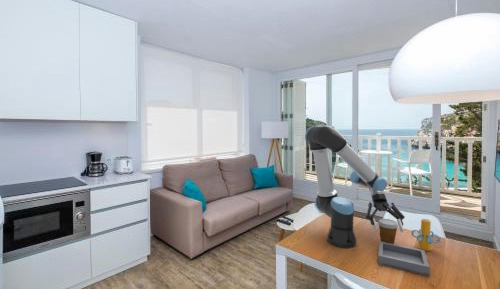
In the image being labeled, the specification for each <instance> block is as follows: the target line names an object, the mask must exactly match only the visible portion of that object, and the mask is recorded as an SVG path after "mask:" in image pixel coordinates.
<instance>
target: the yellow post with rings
mask: <svg viewBox="0 0 500 289" xmlns="http://www.w3.org/2000/svg"><path fill="white" fill-rule="evenodd" d="M431 226H432V220H430V219H427V218H421V219H420V228H419V230H418V229H412V231H411V233H410V234H411V236H412V237H413V238H416V241H417V249H420V250H425V252H430V251H432V250H433V243H434V244H437V243H440V241H441V238H440V236H439V235H437V234H434V232H433V230H431ZM414 232H417V233H418V234H417V235H415V234H414ZM434 237H436V239H437V240H433V238H434Z"/></svg>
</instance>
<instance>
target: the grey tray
mask: <svg viewBox="0 0 500 289" xmlns="http://www.w3.org/2000/svg"><path fill="white" fill-rule="evenodd" d="M378 243H379V246H378V247H379V248H378V259H377V260H378V261H377V263H378V265H382V266H385V267H388V268H389V267H390V268H393V269H398V270H402V271H407V272H410V273H415V274H418V275H422V276H428V277H430V265H429V262H428V261H429V260H428V258H427V254H426V251H425V250H422V249H420V248H416V247H415V248H414V247H410V246H409V247H408V246H406V245H405V246H404V245H400V244H395V243H394V244H390V243H385V242H381V241H379V242H378Z"/></svg>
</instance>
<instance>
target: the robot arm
mask: <svg viewBox="0 0 500 289" xmlns="http://www.w3.org/2000/svg"><path fill="white" fill-rule="evenodd" d="M304 139H305V142H306V143H307V144H308V145H309V151H311V152H312V154H313V159H314V160H313V161H314V167H315V173H316V179H317V184H318V186H317V187H318V191H317V193H316V195H317V196H316V197H315V201H314V202H315V205H316V206H315V207H316V208H317V209H318V210H319V212H321V213H323V214H324V215H326V216H328V217H329V218H330V227H329V230H328V233H327V236H326V241H327V242H328V243H329V244H331V245H332V246H334V247H337V248H343V249H349V248H351V249H352V248H354V247H355V246H357V237H356V234H355V231H354V220H355V219H354V218H355V217H354V215H355V214H354V213H355V207H354V202H353V201H352V200H350V199H348V198H345V197H342V196H339V195H338V191H337V190H335V189H334V182H333V176H332V169H331V162H330V155H329V154H330V153H329V150H330V151H331V152H332V153H334V154H336V155H338V157H340V158H341V160H343V162H344V163H345V164H347V165H348V167H350V168H351V169H352V172H351V173H350V175H349V181H350V182H351V183H352V184H353V183H354V184H355V185H358V186H359V185H360V186H363V187H366V188H368V190H369V194H370V197H371V201H372V202H371V201H370V202H368V204H367V206H368V208H367V210H366V211H367V212H366V215H365V219H366V220H367V219H368V220H369V221H370V225H371V226H373V230H374V232H377V231H378V230H379V229H378V226H377V225H378V224H377V222H376V219H375V215H376V214H377V212H378V211H379V212H386V213H389V214H390V215H391V216H393V217H394V218H395V219H396V222H397V225H398V228H399V231H400V233H403V232H404V231H405V229H404V222H403V220H404V219H405V215H404V214H403V213H402V212H401V211H400V209H398V207H396V205H395V203H394V202H391V203H388V200H387V197H386V194H385V192H384V190H386V189H387V186H388V180H386V179H385V178H384V177H380V176H379V174H378V173H377V172H376V171H374V170H373V169H372V168H371V167H370V166H369V165H368V164H367V163H366V162H365V161H364V160H363V159H362V158H361V157H360V156H359V154H358V153H357V152H356V151H355V150H354V149H353V148H352V147H351V146H350V145H349V144H348V140H347V139H346V138H345V137H344V136H343V135H342V134H341V133H340V132H339V131H338V130H336V129H335V128H334V127H333V126H330V125H314V126H310V127H308V129H307V130H306V132H305V134H304ZM373 207H374V208H375V209H374V211H373V212H372V214H371V211H372V208H373Z"/></svg>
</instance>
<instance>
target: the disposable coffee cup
mask: <svg viewBox="0 0 500 289" xmlns="http://www.w3.org/2000/svg"><path fill="white" fill-rule="evenodd" d="M377 225H378V228H379V229H378V230H379V236H380V242H385V243H390V244H395V243H396V242H395V240H396V236H397V230H398V228H399V226H398V223H397V220H396V221H395V220H393V219H391V218H390V219H389V218H380V219H378V222H377Z"/></svg>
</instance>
